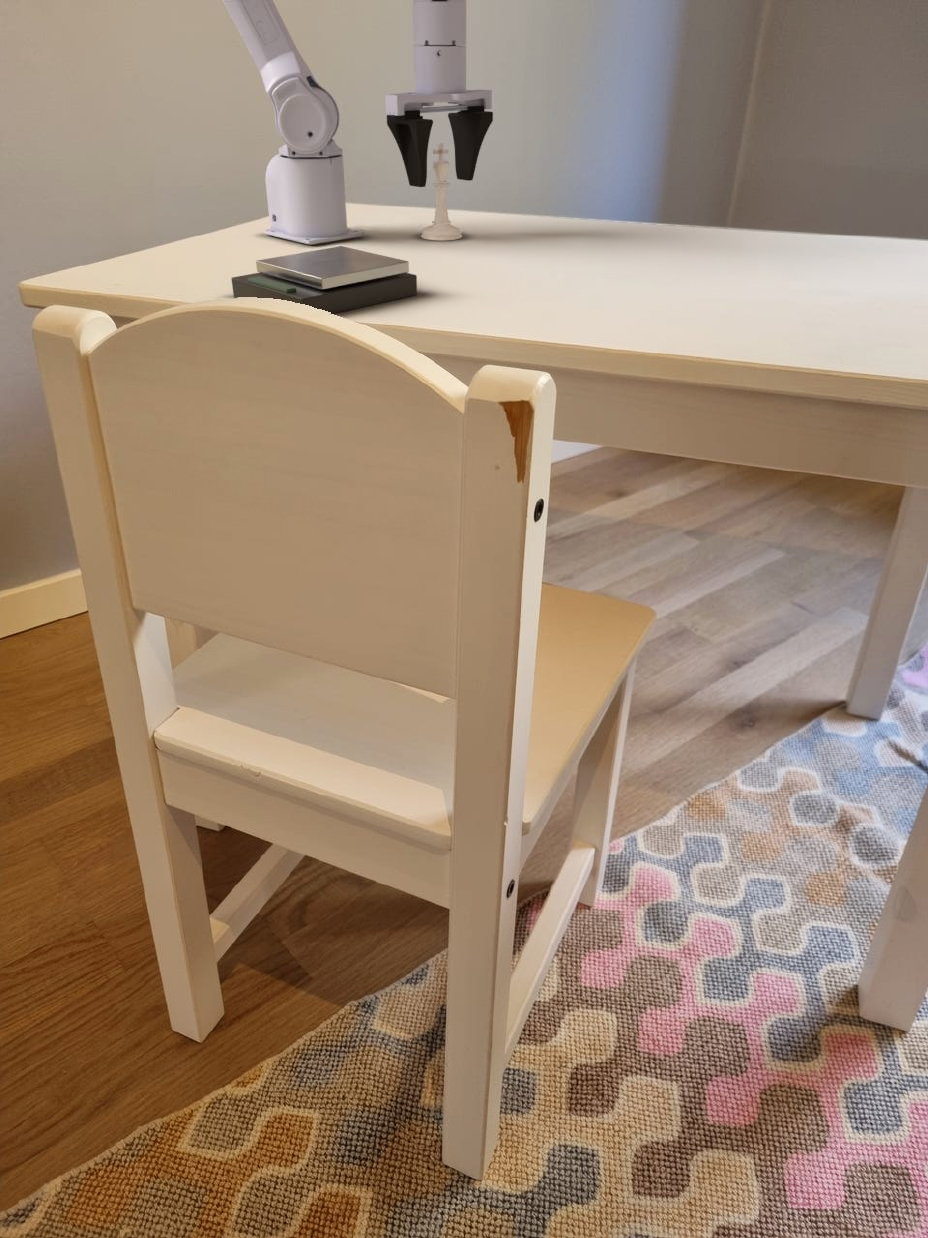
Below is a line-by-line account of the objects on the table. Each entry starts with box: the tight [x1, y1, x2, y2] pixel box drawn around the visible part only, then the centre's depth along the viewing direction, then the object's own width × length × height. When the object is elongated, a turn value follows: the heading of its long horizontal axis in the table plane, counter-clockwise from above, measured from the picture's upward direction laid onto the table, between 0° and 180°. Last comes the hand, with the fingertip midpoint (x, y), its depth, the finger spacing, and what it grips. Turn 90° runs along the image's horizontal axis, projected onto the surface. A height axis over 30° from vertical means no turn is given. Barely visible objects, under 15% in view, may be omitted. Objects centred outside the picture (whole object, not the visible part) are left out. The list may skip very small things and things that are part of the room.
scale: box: [230, 272, 418, 314], centre depth 85 cm, size 11×13×2 cm
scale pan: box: [255, 245, 410, 290], centre depth 85 cm, size 10×10×1 cm
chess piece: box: [420, 142, 463, 242], centre depth 108 cm, size 5×5×10 cm
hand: (441, 182), depth 108 cm, fingers open, 7 cm apart
